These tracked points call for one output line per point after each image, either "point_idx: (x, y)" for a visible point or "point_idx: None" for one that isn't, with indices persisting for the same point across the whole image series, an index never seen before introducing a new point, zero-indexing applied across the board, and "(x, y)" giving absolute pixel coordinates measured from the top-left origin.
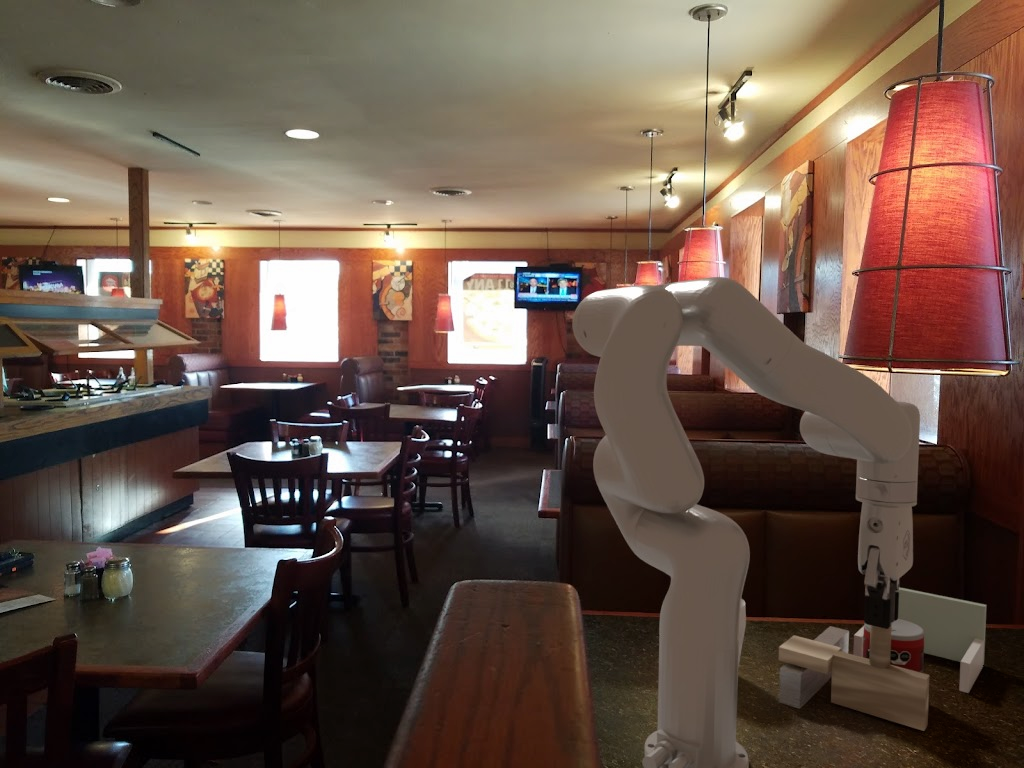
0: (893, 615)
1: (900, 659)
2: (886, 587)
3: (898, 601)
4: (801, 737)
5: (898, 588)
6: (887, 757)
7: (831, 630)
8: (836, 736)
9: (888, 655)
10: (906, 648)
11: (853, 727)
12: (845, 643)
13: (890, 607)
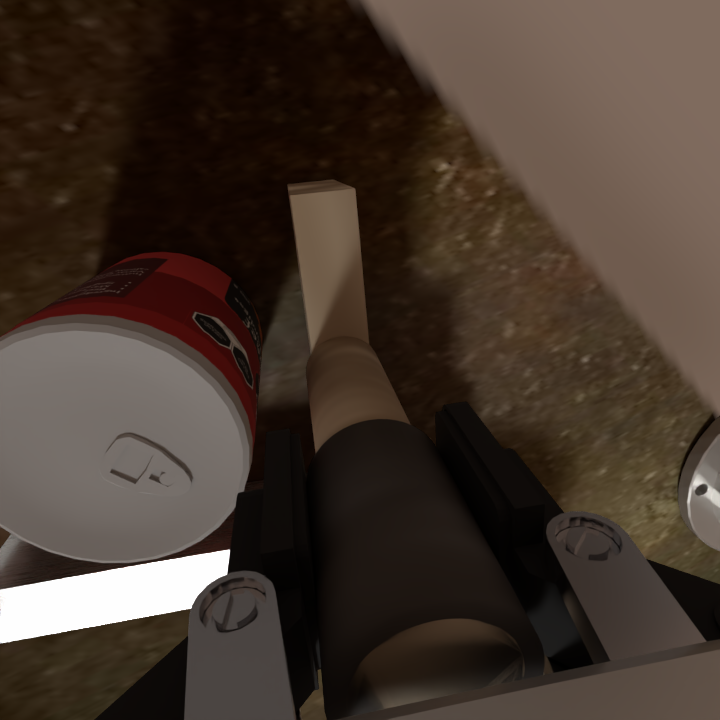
0: (390, 440)
1: (228, 337)
2: (679, 607)
3: (273, 500)
4: (562, 385)
5: (211, 592)
6: (526, 207)
7: (30, 624)
8: (505, 336)
9: (360, 356)
10: (205, 338)
11: (430, 329)
12: (25, 560)
13: (510, 469)
